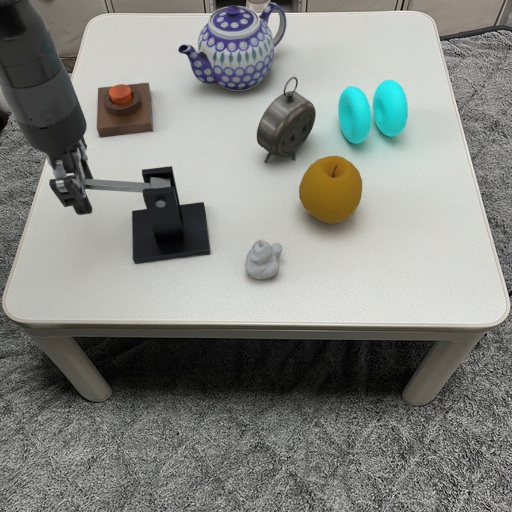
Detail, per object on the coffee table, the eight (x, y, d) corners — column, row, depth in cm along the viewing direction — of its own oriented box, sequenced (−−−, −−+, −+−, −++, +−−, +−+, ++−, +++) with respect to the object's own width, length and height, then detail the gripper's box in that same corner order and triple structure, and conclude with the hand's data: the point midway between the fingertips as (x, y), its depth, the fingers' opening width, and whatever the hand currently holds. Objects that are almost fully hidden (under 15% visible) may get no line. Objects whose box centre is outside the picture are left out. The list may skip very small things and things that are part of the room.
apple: (291, 230, 84) (295, 181, 74) (304, 187, 89) (309, 136, 80) (351, 243, 83) (362, 194, 73) (360, 198, 88) (372, 147, 78)
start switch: (99, 137, 97) (93, 120, 94) (100, 96, 104) (95, 79, 101) (152, 131, 98) (148, 114, 95) (150, 91, 105) (146, 74, 101)
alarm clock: (296, 132, 97) (301, 56, 84) (317, 146, 95) (326, 70, 82) (255, 161, 93) (253, 86, 80) (276, 177, 91) (278, 102, 77)
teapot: (265, 38, 115) (265, -31, 102) (307, 72, 107) (313, 3, 95) (166, 79, 107) (153, 10, 94) (205, 120, 100) (196, 50, 87)
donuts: (402, 146, 95) (416, 102, 87) (351, 156, 94) (360, 112, 85) (382, 111, 100) (392, 66, 92) (333, 120, 99) (339, 76, 91)
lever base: (134, 264, 81) (115, 212, 70) (133, 215, 86) (115, 160, 76) (210, 254, 82) (202, 201, 71) (204, 206, 87) (196, 150, 77)
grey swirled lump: (236, 268, 80) (234, 238, 73) (268, 246, 82) (269, 214, 76) (259, 291, 78) (259, 262, 71) (291, 268, 80) (294, 237, 73)
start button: (111, 106, 97) (108, 98, 95) (111, 92, 99) (109, 85, 97) (132, 104, 97) (130, 96, 95) (132, 90, 99) (130, 83, 98)
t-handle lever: (73, 202, 71) (73, 190, 69) (75, 176, 74) (75, 164, 72) (169, 207, 75) (171, 196, 73) (167, 182, 78) (169, 171, 76)
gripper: (17, 67, 64) (62, 165, 78) (3, 148, 56) (56, 240, 70) (79, 61, 64) (112, 159, 78) (73, 140, 56) (111, 233, 70)
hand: (85, 197), depth 74 cm, fingers closed on t-handle lever, 5 cm apart
